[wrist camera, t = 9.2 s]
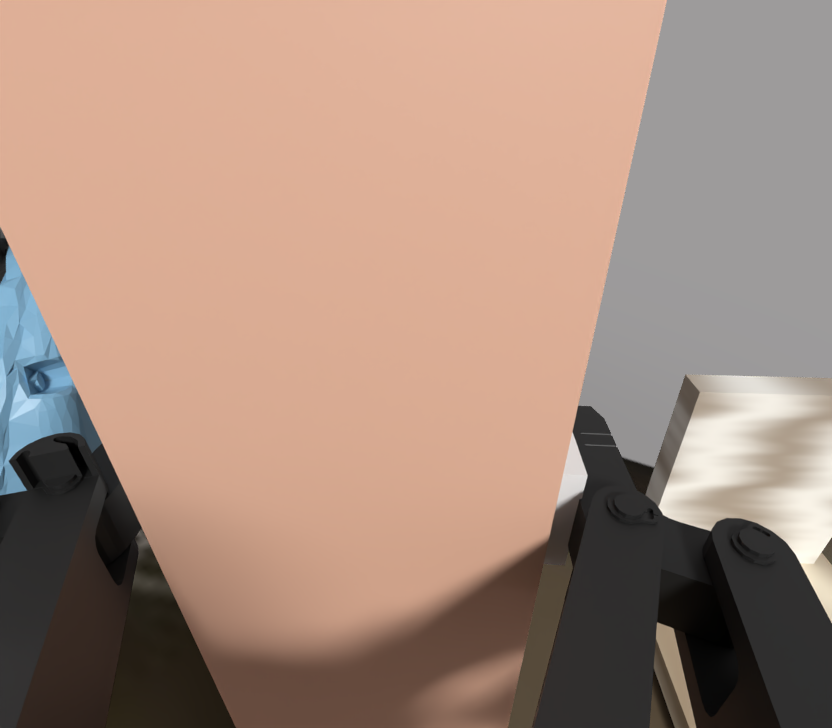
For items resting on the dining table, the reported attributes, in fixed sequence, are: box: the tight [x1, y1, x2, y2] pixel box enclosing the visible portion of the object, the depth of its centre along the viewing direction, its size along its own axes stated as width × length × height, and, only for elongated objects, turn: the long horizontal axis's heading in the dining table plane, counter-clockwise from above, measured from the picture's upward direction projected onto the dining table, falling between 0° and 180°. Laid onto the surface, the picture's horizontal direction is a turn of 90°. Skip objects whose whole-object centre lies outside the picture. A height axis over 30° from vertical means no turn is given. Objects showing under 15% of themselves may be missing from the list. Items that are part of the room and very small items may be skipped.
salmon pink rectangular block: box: [0, 0, 667, 728], centre depth 12 cm, size 8×5×20 cm, turn 86°
